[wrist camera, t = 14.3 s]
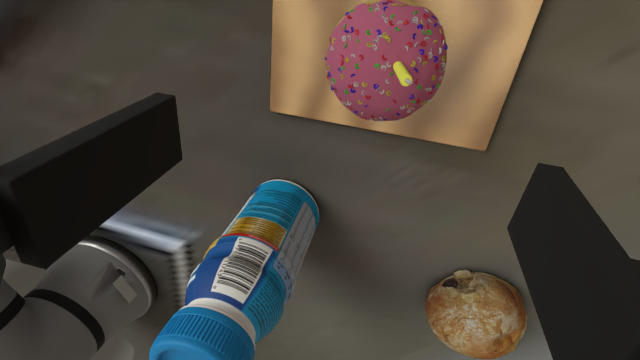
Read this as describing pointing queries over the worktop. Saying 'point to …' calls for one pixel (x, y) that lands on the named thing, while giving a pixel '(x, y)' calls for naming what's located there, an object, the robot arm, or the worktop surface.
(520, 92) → the worktop surface
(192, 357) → the beverage bottle
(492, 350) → the bread roll
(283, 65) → the light brown flat board
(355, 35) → the cupcake
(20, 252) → the robot arm
